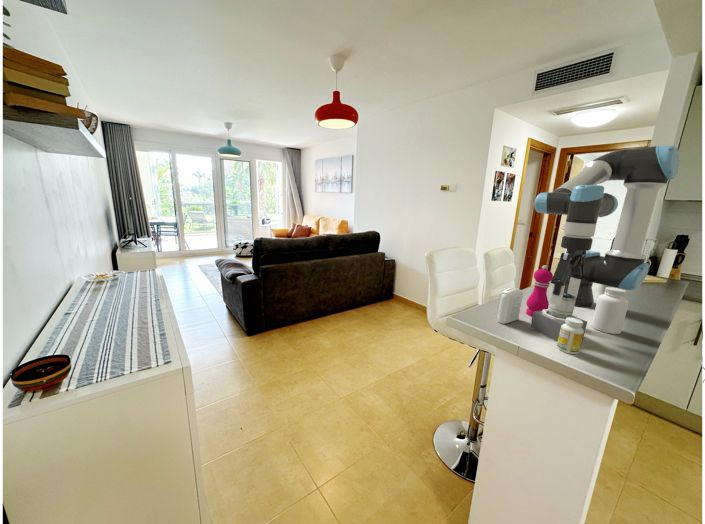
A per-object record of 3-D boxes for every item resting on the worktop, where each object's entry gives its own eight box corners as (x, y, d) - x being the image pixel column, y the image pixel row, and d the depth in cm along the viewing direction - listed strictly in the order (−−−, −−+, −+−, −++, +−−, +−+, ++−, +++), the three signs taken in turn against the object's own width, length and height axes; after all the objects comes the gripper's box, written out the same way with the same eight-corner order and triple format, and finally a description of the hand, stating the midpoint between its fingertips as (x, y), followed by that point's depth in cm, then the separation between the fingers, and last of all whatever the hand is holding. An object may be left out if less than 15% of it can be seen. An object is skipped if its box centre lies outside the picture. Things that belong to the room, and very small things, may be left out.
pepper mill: (520, 312, 112) (529, 263, 108) (533, 310, 114) (543, 262, 110) (536, 319, 106) (547, 268, 101) (550, 318, 108) (561, 267, 103)
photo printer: (508, 315, 108) (513, 284, 106) (519, 319, 105) (525, 288, 102) (493, 320, 103) (498, 288, 100) (505, 325, 99) (511, 292, 97)
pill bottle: (602, 324, 105) (612, 285, 101) (626, 334, 97) (638, 292, 94) (585, 325, 103) (594, 285, 100) (608, 335, 95) (620, 293, 92)
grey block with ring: (554, 325, 101) (558, 308, 100) (583, 338, 92) (587, 319, 90) (530, 327, 98) (533, 309, 97) (557, 341, 89) (561, 322, 88)
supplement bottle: (555, 350, 84) (562, 320, 82) (556, 343, 88) (563, 314, 86) (578, 356, 81) (586, 325, 78) (578, 349, 85) (585, 319, 83)
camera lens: (565, 314, 96) (570, 292, 95) (575, 321, 90) (580, 298, 88) (545, 311, 97) (549, 290, 96) (553, 318, 91) (558, 295, 90)
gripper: (577, 232, 98) (565, 290, 103) (547, 237, 84) (534, 303, 89) (605, 235, 92) (590, 297, 97) (577, 240, 78) (561, 312, 83)
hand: (563, 300), depth 93 cm, fingers open, 13 cm apart
